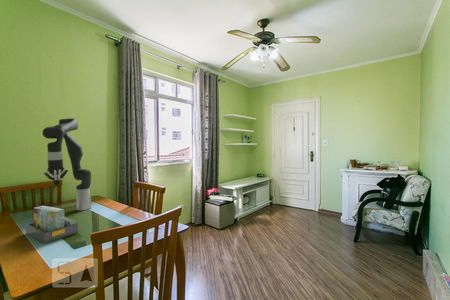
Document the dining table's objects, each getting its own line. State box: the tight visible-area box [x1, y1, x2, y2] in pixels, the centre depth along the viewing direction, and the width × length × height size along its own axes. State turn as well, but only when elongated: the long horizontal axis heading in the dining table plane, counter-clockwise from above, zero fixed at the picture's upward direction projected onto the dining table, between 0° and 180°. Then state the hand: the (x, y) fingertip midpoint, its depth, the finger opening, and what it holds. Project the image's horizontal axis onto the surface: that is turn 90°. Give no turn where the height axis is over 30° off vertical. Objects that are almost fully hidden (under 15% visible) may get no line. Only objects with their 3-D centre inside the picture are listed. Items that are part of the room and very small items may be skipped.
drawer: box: [25, 216, 79, 245], centre depth 126 cm, size 16×26×8 cm, turn 60°
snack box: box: [33, 205, 65, 233], centre depth 125 cm, size 21×6×15 cm, turn 69°
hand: (56, 185), depth 133 cm, fingers closed
